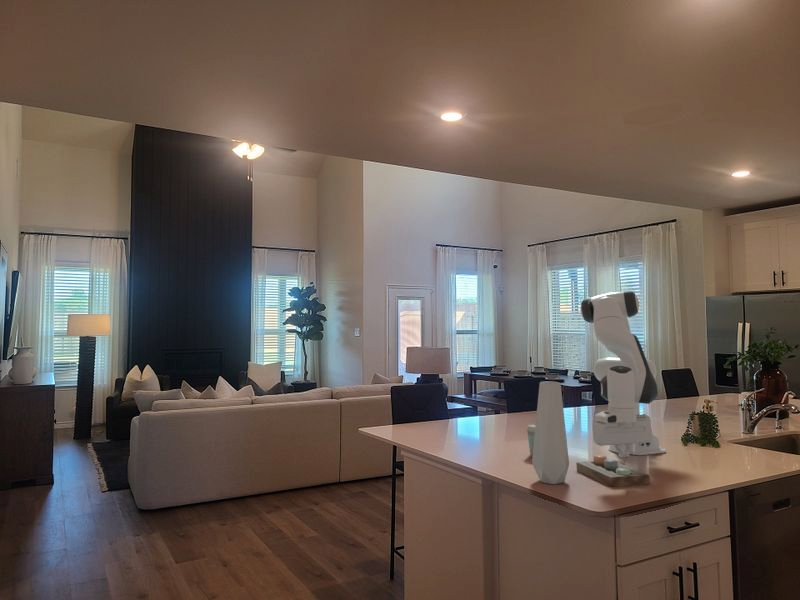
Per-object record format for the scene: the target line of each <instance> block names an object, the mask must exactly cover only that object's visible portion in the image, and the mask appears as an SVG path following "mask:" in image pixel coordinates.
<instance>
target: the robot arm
mask: <svg viewBox="0 0 800 600" xmlns="http://www.w3.org/2000/svg"><path fill="white" fill-rule="evenodd" d="M580 303H581V304H580V307H579V309H580V315H581V317H582V318H583V320H584V321H585V322H587V323H591V324H593V329H594V333H595V338H596V339H597V341H599V342H600V344H602V345H603V346H605V349H606V350H607V351H608V352H609V353H612V354H614V355H615V356H616V357H609V356H608V357H603V358H599V359H597V360H596V361H595V362H594V365H593V374H594V376H595V378H596V379H597V380H598V381H599V382H600V396H601V397H602V398H603V399H604V400H605V401H607V402H608V404H607V409H605V410H603V411H600V412H598V413H595V414H594V415H593V416H594V421H595V422H594V424H593V429H592V439H593V442H594V444H595V445H598V446H599V447H600V446H601V447H603V446H609V447H608V451H610V452H612V453H613V452H614V453H618V458H621V459H622V458H623V459H624V458H629V457H630V455H634V456H646V455H656V454H663V453H667V451H666V449H665V448H664V447H661V445H660V440H659V438H658V436H657V435H656V434H655V433H653V428H652V421H651V417H650V416H649V415H647V414H646V413H644V414H643V413H642V414H640V413H641V409H640V404H645V405H646V404H647V405H650V404H651V403H652V402H654V401H656V399H657V398H658V395H659V387H658V384H657V382H656V378H657V373H658V372H657V367H656V365H655V363H654V362H653V361H652V360H651V359H649V358H647V356H646V355H645V352H644V349H643V347H642V345H641V342H640V340H639V338H638V337H637V335H635V334H634V333H632V331H631V327H630V322H629V319H628V318H632V317H634V316H636V315H637V314H638V313H639V310H640V300H639V298H638V296H637V295H636V293H635V292H634V291H630V290H624V291H615V292H607V293H603V294H598V295H596V296H592V297H591V296H588V297H585V298H584V299H582V301H581V302H580Z"/></svg>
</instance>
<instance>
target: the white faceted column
mask: <svg viewBox="0 0 800 600" xmlns="http://www.w3.org/2000/svg"><path fill="white" fill-rule="evenodd" d="M562 392H563V391H562V385H561V382H558V381H540V382H539V387H538V395H537V396H538V397H537V406H536V407H537V408H536V418H535V424H536V426H535V436H534V447H533V456H532V460H531V461H532V462H531V463H532V467H533V469H534V470H535V474H537V478H538V479H539V481H540V483H544V484H549V485H559V484H563V483H565V480H566V479H567V473H568V469H569V465H570V460H569V458H570V457H569V449H568V440H567V432H566V421H565V411H564V403H563V393H562Z"/></svg>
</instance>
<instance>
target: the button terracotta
mask: <svg viewBox="0 0 800 600" xmlns="http://www.w3.org/2000/svg"><path fill="white" fill-rule="evenodd" d="M606 459H608V458H607V456H606V455H603V454H595V455H593V461H594V464H595V465H604V460H606Z"/></svg>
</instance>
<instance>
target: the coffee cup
mask: <svg viewBox="0 0 800 600" xmlns="http://www.w3.org/2000/svg"><path fill="white" fill-rule="evenodd" d="M535 426H536V423H535V424H534V423H533V424H528V425H527V428H526V431H527V438H528V446H529V453H530V456H531V457H533V447H534V436H535Z"/></svg>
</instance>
